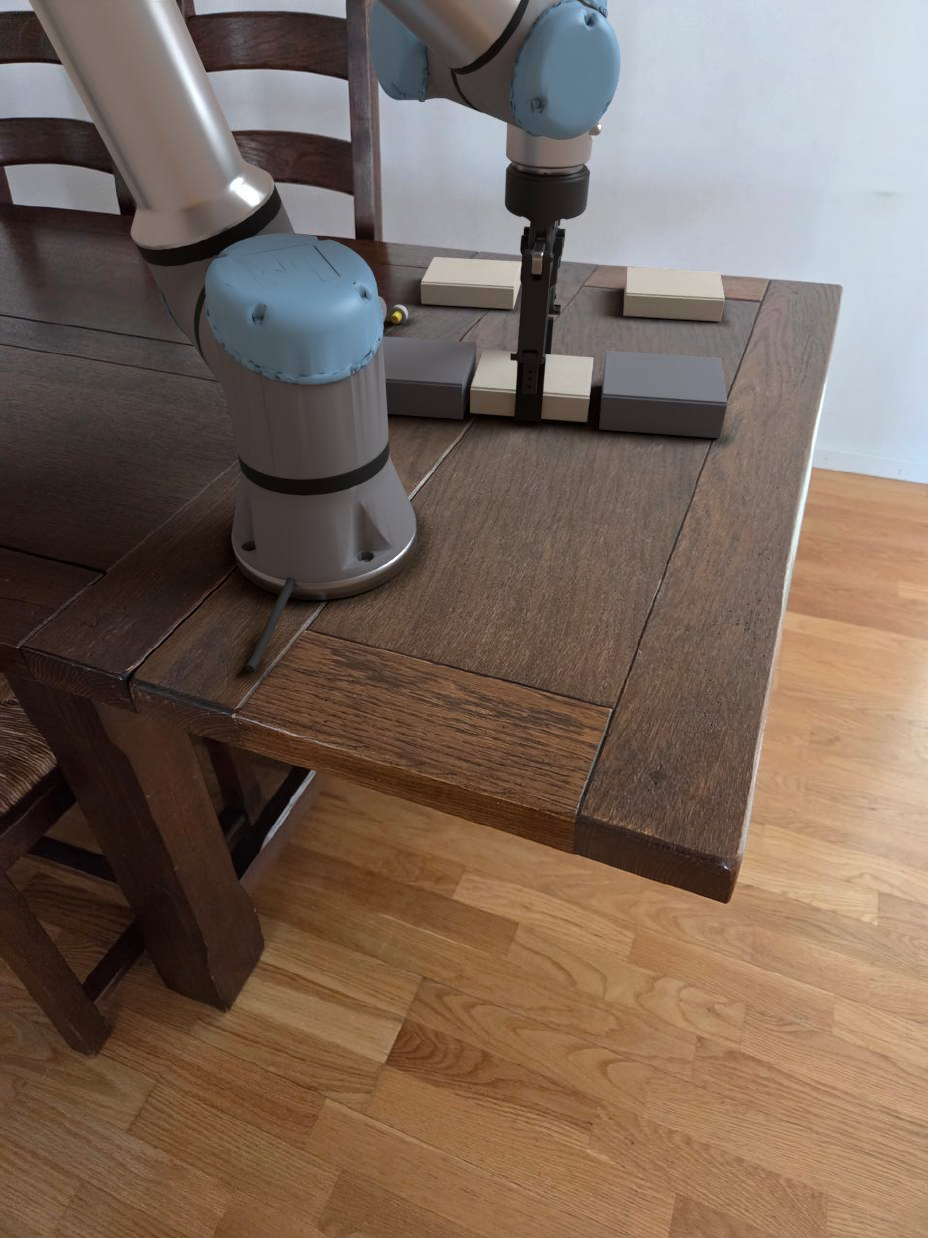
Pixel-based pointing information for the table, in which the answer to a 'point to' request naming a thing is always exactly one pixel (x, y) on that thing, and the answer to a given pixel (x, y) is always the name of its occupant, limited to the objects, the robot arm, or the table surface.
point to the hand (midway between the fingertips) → (532, 396)
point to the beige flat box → (560, 395)
